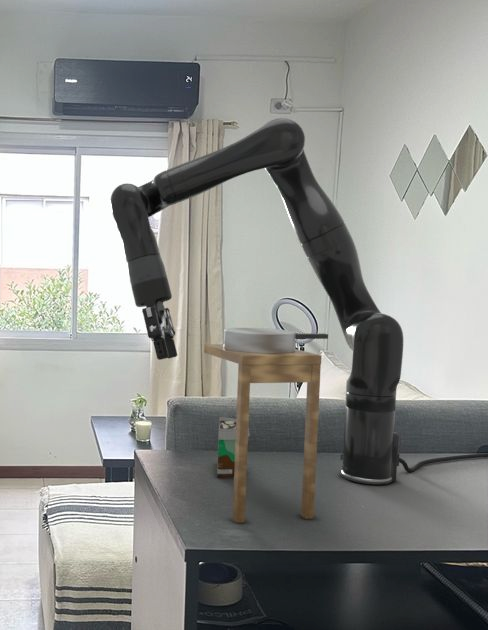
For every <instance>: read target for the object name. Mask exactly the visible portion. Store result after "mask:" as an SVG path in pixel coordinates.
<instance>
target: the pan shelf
mask: <svg viewBox="0 0 488 630" xmlns="http://www.w3.org/2000/svg"><path fill="white" fill-rule="evenodd" d="M327 339H329V334H328V333H322V332H318V333H316V332H313V333H310V332H309V333H308V332H307V333H303V332H302V333H299V332H298V333H297V332H296V331H294V330H287V329H278V328H264V327H229V328H224V330H223V344H218V343H217V344H214V343H213V344H207V343H206V344H204V345H203V348H204V349H203V353H204V354H207V355H210V356H214V357H217V358H219V359H223V360H226V361H229V362H232V363H235V364H238V366H237V390H236V392H237V395H236V416H235V417H236V418H235V419H236V443H235V470H234V477H233V495H232V496H233V499H232V521H234V523H236V524H240V523H242V524H243V523H245V522H246V499H247V498H246V497H247V473H248V472H247V471H248V470H247V469H248V449H249V446H248V445H249V437H248V427H249V423H250V422H249V419H250V397H251V395H250V394H251V384H283V383H284V384H285V383H289V384H290V383H291V384H292V383H293V384H295V383H297V384H298V383H306V400H305V401H306V402H305V421H304V422H305V423H304V427H305V428H304V442H303V443H304V444H303V445H304V447H303V465H302V466H303V467H302V491H301V509H300V510H301V512H300V513H301V514H300V516H301V517H302V518H303V519H305V520H313V519H314V518H315V501H316V500H315V499H316V498H315V497H316V480H317V479H316V477H317V476H316V475H317V456H318V455H317V452H318V435H319V411H320V388H321V371H322V370H321V369H322V368H321V367H322V357H323V356H322V355H321V354H318V353H313V352H309V351H305V350H302V349H301V350H300V349H297V348H296V340H327Z"/></svg>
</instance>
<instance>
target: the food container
mask: <svg viewBox="0 0 488 630" xmlns="http://www.w3.org/2000/svg"><path fill="white" fill-rule="evenodd" d="M250 436H251V434H250V428H249V426H248V438H249V437H250ZM217 438H218V439H217V440H218V441H217V462H216V463H217V464H216V465H217V466H216V477H217V478H222V479H225V478H229V479H230V478H234V470H235V443H236V418H230V417H225V416H219V417H218V437H217Z"/></svg>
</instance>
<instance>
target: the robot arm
mask: <svg viewBox="0 0 488 630" xmlns="http://www.w3.org/2000/svg"><path fill="white" fill-rule="evenodd" d="M305 144H306V135H305V132H304V130H303V128H302V126H300V124H299V123H297V122H296V121H294V120H292V119H290V118H286V117H280V118H274V119H271V120H269V121H267V122H266V123H265V124H263V125H262V126H261V127H259V128H258V129H256V130H254V131H253V132H251V133H250V134H248V135H246V136H245V137H242V138H241V139H238V140H237V141H236V142H233V143H231V144H229V145H227V146H225V147H222V148H220V149H218V150H215V151H212V152H210V153H207V154H204V155H201V156H198V157H196V158H193V159H191V160H188V161H185V162H183V163H180V164H178V165H176V166H173V167H170V168H168V169H166V170H163V171H161V172H159V173H157V174H156V175H155V176H154V178H153V179H152V180H151V181H148V182H147V183H144V184H142V185H140V186H137V185H135V184H133V183H122V184H120V185H118V186H116V187H115V188H114V190H113V191H112V192H111V195H110V199H109V200H110V201H109V203H110V211H111V212H112V217H113V220H114V223H115V227H116V229H117V232H118V233H119V236H120V239H121V243H122V250H123V253H124V254H123V255H124V257H125V262H126V266H127V274H128V275H127V276H128V279H129V283H130V288H131V291H132V295H133V299H134V304H135V306H136V307H137V308H142V309H141V310H142V311H141V312H142V315H143V320H144V325H145V328H146V332H147V337H148V338H149V339H150V340H151V342H153V343H152V344H153V348H154V352H155V355H156V359H157V360H166V359H173V358H176V357H178V351H177V347H176V343H175V336H176V330H175V327H174V323H173V320H172V316H171V313H170V312H171V311H170V309H169V307H166V308H165V305H164V302H168V301H170V300H172V298H173V295H172V291H171V287H170V283H169V279H168V275H167V271H166V267H165V263H164V261H163V258H162V256H161V253H160V252H161V251H160V248H159V244H158V241H157V237H156V234H155V232H154V230H153V229H152V227H151V223H150V218H151V217H152V216H154V215H155V214H157V213H159V212H161V211H162V210H164V209H166V208H168V207H170V206H173V205H176V204H179V203H182V202H185V201H186V200H189V199H192V198H193V197H196V196H199V195H201V194H204V193H205V192H207V191H210V190H211V189H213V188H216V187H218V186H220V185H222V184H223V183H225V182H228V181H230V180H232V179H235V178H238V177H240V176H242V175H245V174H247V173H251V172H254V171H259V170H262V169H264V170H265V171H266V172H267V174H268V175H269V177H270V179H271V180H272V182H273V184H274V185H275V187H276V189H277V191H278V192H279V194H280V196H281V199H282V201H283V203H284V206H285V210H286V212H287V214H288V218H289V221H290V224H291V225H292V228H293V231H294V233H295V235H296V237H297V241H298V242H299V244H300V246H301V248H302V251H303V252H304V254H305V257H306V259H307V261H308V262H309V264H310V266H311V268H312V270H313V272H314V273H315V276H316V277H317V279H318V281H319V283H320V284H321V286H322V287H323V289H324V291H325V292H326V294H327V296H328V298H329V300H330V302H331V304H332V307H333V309H334V312H335V314H336V317H337V320H338V322H339V325H340V328H341V331H342V333H343V337H344V339H345V342H346V345H347V346H348V347H349V349H350V350H351V351H352V360H351V369H350V374H349V375H348V376H347V378H346V383H345V403H344V404H345V406H344V423H343V424H344V426H343V443H342V445H343V446H342V447H343V448H342V454H340V461H342V465H341V468H342V469H341V474H340V475H341V477H342V478H344V479H346V480H348V481H350V482H354V483H359V484H365V485H378V486H380V485H388V484H391V483H392V482H397V471H398V467H399V466H400V464H401V465H402V467H403V469H404V471H406V472H408V473H413V472H415V471H417V470H419V468H421V467H423V466H424V465H429V464H433V463H441V462H450V461H457V460H458V461H459V460H468V459H479V458H480V459H482V458H488V452H483V453H471V454H459V455H451V456H443V457H435V458H429V459H424V460H420V461H419V462H417V463H416V464H414V466H413V467H410V466H409V465H408V463H407V461H405V460H404V459H403V458H402V457H400V453H399V434H398V432H396V431H395V425H396V423H395V422H396V405H397V404H396V403H397V390H398V385H399V383H400V380H401V376H402V367H403V356H404V332H403V328H402V326H401V324H400V323H399V321H397V320H396V318H394V317H392V316H391V315H388V314H386V313H382V311H380V309H379V307H378V306H377V304H376V303H375V301H374V300H373V298H372V296H371V294H370V292H369V290H368V289H367V286H366V283H365V281H364V278H363V273H362V268H361V263H360V258H359V253H358V249H357V247H356V243H355V240H354V238H353V236H352V234H351V232H350V231H349V229H348V226H347V224H346V223H345V220H344V219H343V216H342V215H341V213H340V212H339V210H338V208H337V207H336V205H335V204H334V202H333V201H332V200H331V198H330V197H329V196H328V195H327V193H326V192H325V191H324V189H323V188H322V186H321V185H320V184H319V182H318V180H317V178H316V177H315V175H314V172H313V171H312V168H311V165H310V163H309V161H308V159H307V155H306V152H305V149H304V148H305Z"/></svg>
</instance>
